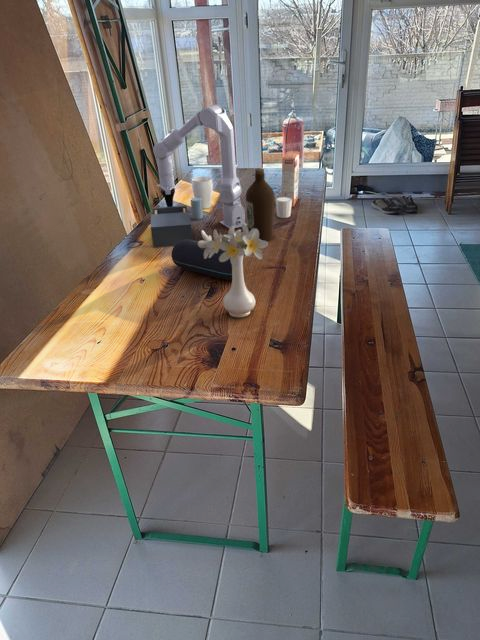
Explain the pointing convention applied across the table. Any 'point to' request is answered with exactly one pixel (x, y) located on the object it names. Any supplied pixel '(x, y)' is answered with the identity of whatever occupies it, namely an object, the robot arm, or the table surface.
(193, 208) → the jug
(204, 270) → the portable speaker
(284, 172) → the cracker box
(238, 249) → the flower vase
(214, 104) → the robot arm
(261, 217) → the olive oil
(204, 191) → the cup
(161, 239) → the cabinet
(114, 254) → the table surface
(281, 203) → the shot glass
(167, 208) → the drawer
